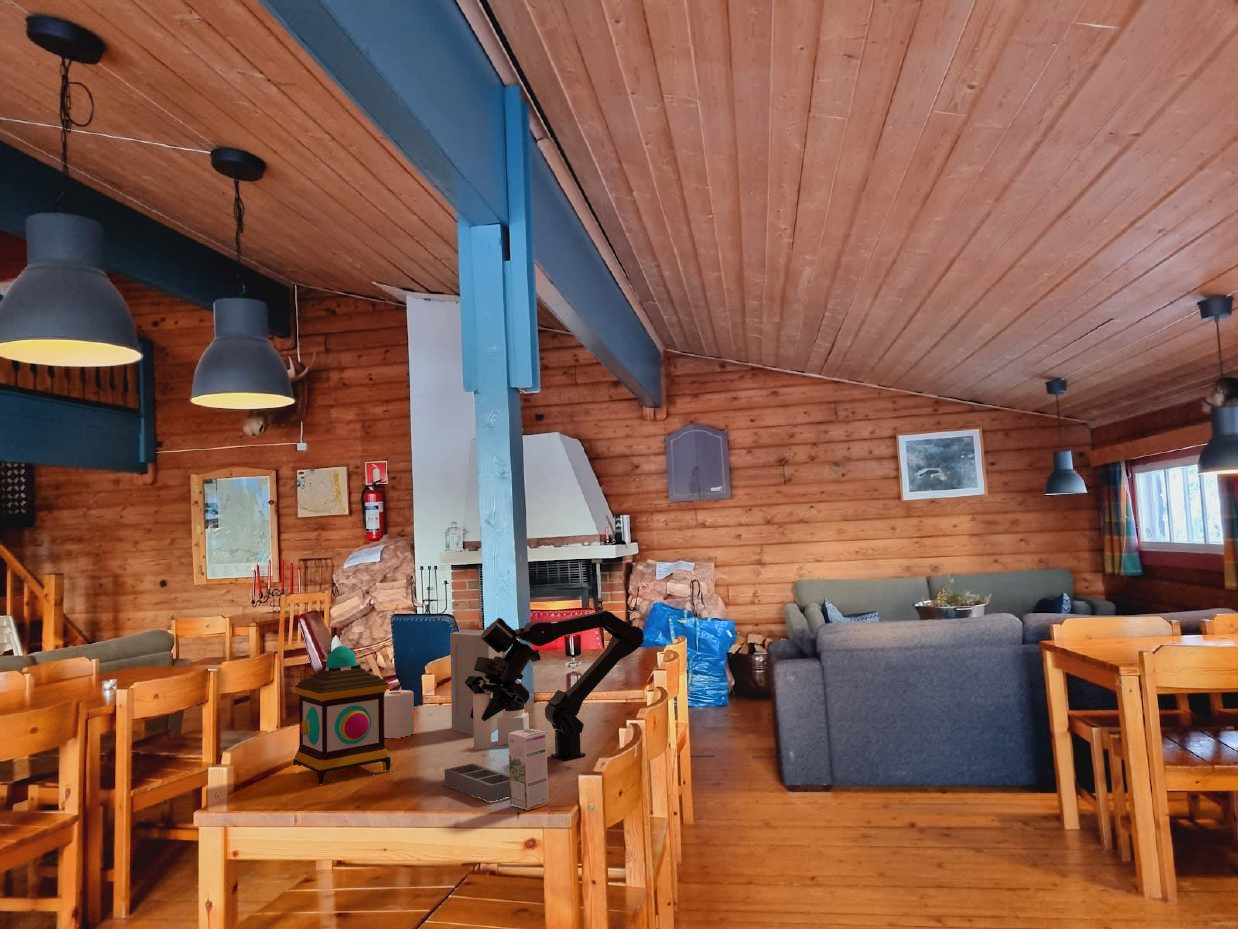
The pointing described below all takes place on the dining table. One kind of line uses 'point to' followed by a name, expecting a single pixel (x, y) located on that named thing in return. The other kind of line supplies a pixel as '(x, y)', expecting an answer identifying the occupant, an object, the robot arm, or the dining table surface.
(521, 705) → the medicine bottle
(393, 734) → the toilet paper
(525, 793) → the syrup box
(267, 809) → the dining table surface
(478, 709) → the beige tapered cylinder
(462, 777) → the caddy
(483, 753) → the dining table surface
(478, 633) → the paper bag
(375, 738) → the decorative lantern
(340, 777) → the dining table surface
